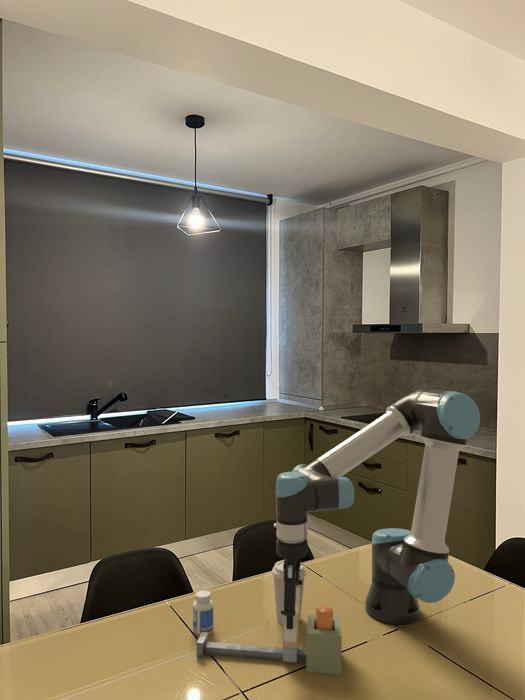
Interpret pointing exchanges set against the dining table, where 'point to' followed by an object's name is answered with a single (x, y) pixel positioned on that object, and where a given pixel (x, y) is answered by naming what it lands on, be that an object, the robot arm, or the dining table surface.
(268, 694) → the dining table surface
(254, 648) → the rail
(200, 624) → the pill bottle
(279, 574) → the coffee cup
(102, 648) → the dining table surface
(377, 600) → the robot arm
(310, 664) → the green square holder
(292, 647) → the carriage
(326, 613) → the orange rounded piece
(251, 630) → the dining table surface
